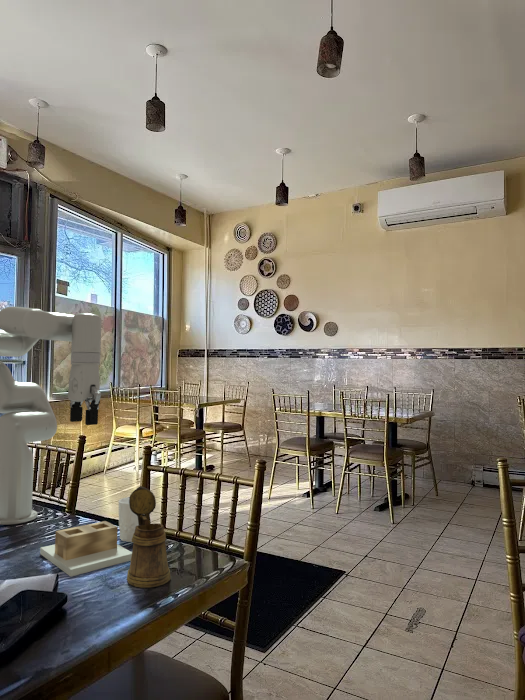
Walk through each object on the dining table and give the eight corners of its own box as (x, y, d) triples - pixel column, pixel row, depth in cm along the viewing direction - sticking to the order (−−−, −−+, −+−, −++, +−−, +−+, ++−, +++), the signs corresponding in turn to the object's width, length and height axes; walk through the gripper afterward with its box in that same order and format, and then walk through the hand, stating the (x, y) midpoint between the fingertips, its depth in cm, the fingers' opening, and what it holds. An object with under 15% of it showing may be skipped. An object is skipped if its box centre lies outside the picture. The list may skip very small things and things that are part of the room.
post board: (40, 553, 121) (41, 528, 121) (99, 540, 131) (99, 517, 132) (70, 576, 108) (71, 548, 108) (133, 559, 118) (134, 533, 119)
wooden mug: (157, 561, 117) (159, 483, 118) (175, 583, 105) (177, 496, 106) (119, 568, 113) (121, 487, 114) (132, 591, 101) (135, 501, 102)
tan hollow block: (65, 560, 113) (66, 537, 114) (54, 552, 118) (55, 531, 118) (117, 547, 122) (117, 526, 122) (104, 541, 126) (105, 520, 127)
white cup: (130, 545, 128) (131, 505, 129) (111, 538, 133) (112, 500, 133) (154, 537, 134) (155, 499, 135) (135, 531, 139) (136, 494, 140)
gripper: (59, 359, 140) (57, 421, 139) (85, 359, 127) (83, 427, 126) (85, 360, 145) (83, 419, 144) (113, 359, 132) (111, 425, 132)
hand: (83, 423), depth 135 cm, fingers open, 9 cm apart
